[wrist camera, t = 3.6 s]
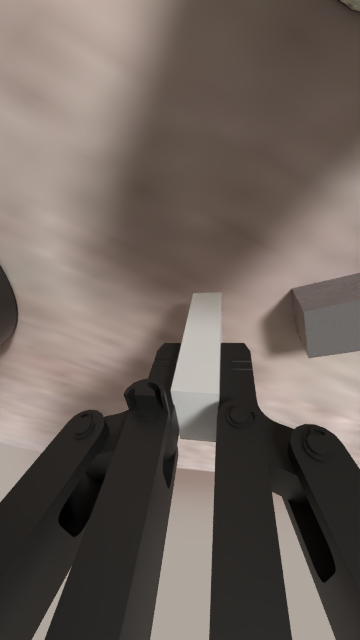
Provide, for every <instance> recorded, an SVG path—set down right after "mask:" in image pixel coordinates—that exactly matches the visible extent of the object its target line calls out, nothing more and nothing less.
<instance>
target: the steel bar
mask: <svg viewBox="0 0 360 640" xmlns="http://www.w3.org/2000/svg"><path fill="white" fill-rule="evenodd" d="M292 293H293V301H294V309H295V317H296V325H297V332H298V334H299V337H300V339H301V342H302V344H303V346H304V349H305V351H306V353H307V356H308V358H313V357H320V356H327V355H334V354H341V353H348V352H355V351H360V273H358V274H354V275H349V276H345V277H341V278H336V279H332V280H328V281H323V282H319V283H315V284H310V285H306V286H302V287H297V288H293V289H292Z"/></svg>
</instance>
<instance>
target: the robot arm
mask: <svg viewBox="0 0 360 640" xmlns="http://www.w3.org/2000/svg"><path fill="white" fill-rule="evenodd" d="M16 320H17V310H16V303H15V299H14V295H13V292H12V289H11V287H10V284H9V282H8V280H7V278H6V276H5V274H4V272H3V270H2V269H1V267H0V346H1V345H2V344H3V343H4V342H5V341H6V340H7V339H8V338H9V337H10V336H11V335H12V333H13V331H14V329H15V325H16ZM124 397H125V399H126V402H127V405H128V407H129V410H127V411H125V412H122V413H119V414H115V415H110V416H106V417H103V415H102V413H100V412H98V411H97V410H87V411H83V412H81V413H79V414H77V415H75V416H74V417H73V418H72V419H71V420H70V421H69V422H68V423H67V424H66V425H65V426H64V428H63V429H62V430H61V431H60V432H59V434H58V435H57V436H56V437H55V438H54V439H53V441H52V442H51V443H50V444H49V445H48V447H47V448H46V449H45V450H44V451H43V452H42V454H41V455H40V456H39V457H38V458H37V460H36V461H35V462H34V463H33V464H32V466H31V467H30V468H29V469H28V470H27V471H26V473H25V474H24V475H23V476H22V477H21V479H20V480H19V481H18V482H17V483H16V485H15V486H14V487H13V488H12V489H11V491H10V492H9V493H8V494H7V495H6V497H5V498H4V499H3V500H2V501H1V502H0V640H32V638H33V636H34V634H35V632H36V630H37V629H38V627H39V625H40V623H41V621H42V619H43V618H44V616H45V614H46V612H47V610H48V608H49V607H50V605H51V603H52V601H53V599H54V597H55V596H56V594H57V592H58V590H59V588H60V586H61V585H62V583H63V581H64V579H65V577H66V575H67V574H68V572H69V570H70V568H71V570H70V573H69V576H68V578H67V581H66V583H65V586H64V589H63V591H62V594H61V597H60V600H59V602H58V605H57V608H56V610H55V613H54V616H53V618H52V621H51V624H50V626H49V629H48V632H47V635H46V637H45V640H150V636H151V630H152V623H153V617H154V610H155V604H156V597H157V591H158V584H159V578H160V571H161V565H162V558H163V551H164V545H165V538H166V532H167V525H168V518H169V512H170V506H171V499H172V493H173V486H174V480H175V473H176V467H177V460H178V447H177V442H178V436H179V434H180V439H187V440H199V441H210V442H216V456H215V486H214V516H213V545H212V576H211V606H210V634H209V640H292V636H291V629H290V621H289V614H288V607H287V600H286V592H285V585H284V579H283V570H282V564H281V556H280V549H279V541H278V534H277V527H276V519H275V512H274V505H273V497H272V492H274V493H276V494H278V495H280V496H282V498H283V501H284V504H285V506H286V509H287V511H288V514H289V517H290V519H291V522H292V525H293V527H294V530H295V533H296V535H297V538H298V541H299V543H300V546H301V548H302V551H303V554H304V557H305V559H306V562H307V564H308V567H309V570H310V572H311V575H312V577H313V580H314V583H315V585H316V588H317V591H318V593H319V596H320V599H321V602H322V604H323V607H324V610H325V612H326V615H327V617H328V620H329V623H330V625H331V628H332V630H333V633H334V636H335V638H336V640H360V469H359V467H358V466H357V464H356V463H355V461H354V460H353V458H352V457H351V455H350V454H349V452H348V451H347V449H346V448H345V446H344V445H343V444H342V442H341V441H340V440H339V439H338V438H337V437H336V436H335V435H334V434H333V433H331V432H330V431H328V430H327V429H325V428H323V427H320V426H317V425H313V424H304V425H301V426H298V427H296V428H295V429H293V428H290V427H287V426H284V425H281V424H279V423H277V422H274V421H272V420H271V419H269V418H268V417H267V416H265V415H264V413H263V412H262V411H261V410H260V408H259V406H258V403H257V399H256V392H255V384H254V376H253V370H252V362H251V353H250V350H249V349H248V348H247V346H246V345H245V344H244V343H222V299H221V292H213V293H193V296H192V300H191V305H190V309H189V313H188V318H187V322H186V326H185V331H184V335H183V339H182V343H164V344H163V345H162V346H161V348H160V349H159V350H158V351H157V354H156V357H155V361H154V363H153V366H152V369H151V371H150V374H149V377H148V379H143V380H140V381H137V382H135V383H133V384H132V385H131V386H129V387H128V388H127V390H126V391H125V393H124ZM71 566H72V567H71Z"/></svg>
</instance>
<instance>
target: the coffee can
mask: <svg viewBox="0 0 360 640" xmlns="http://www.w3.org/2000/svg"><path fill="white" fill-rule="evenodd" d="M340 1H341V2H343V3H344V4H346V5H347V6H348V7H349V8H350V9H352V10H357V11H360V0H340Z"/></svg>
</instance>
